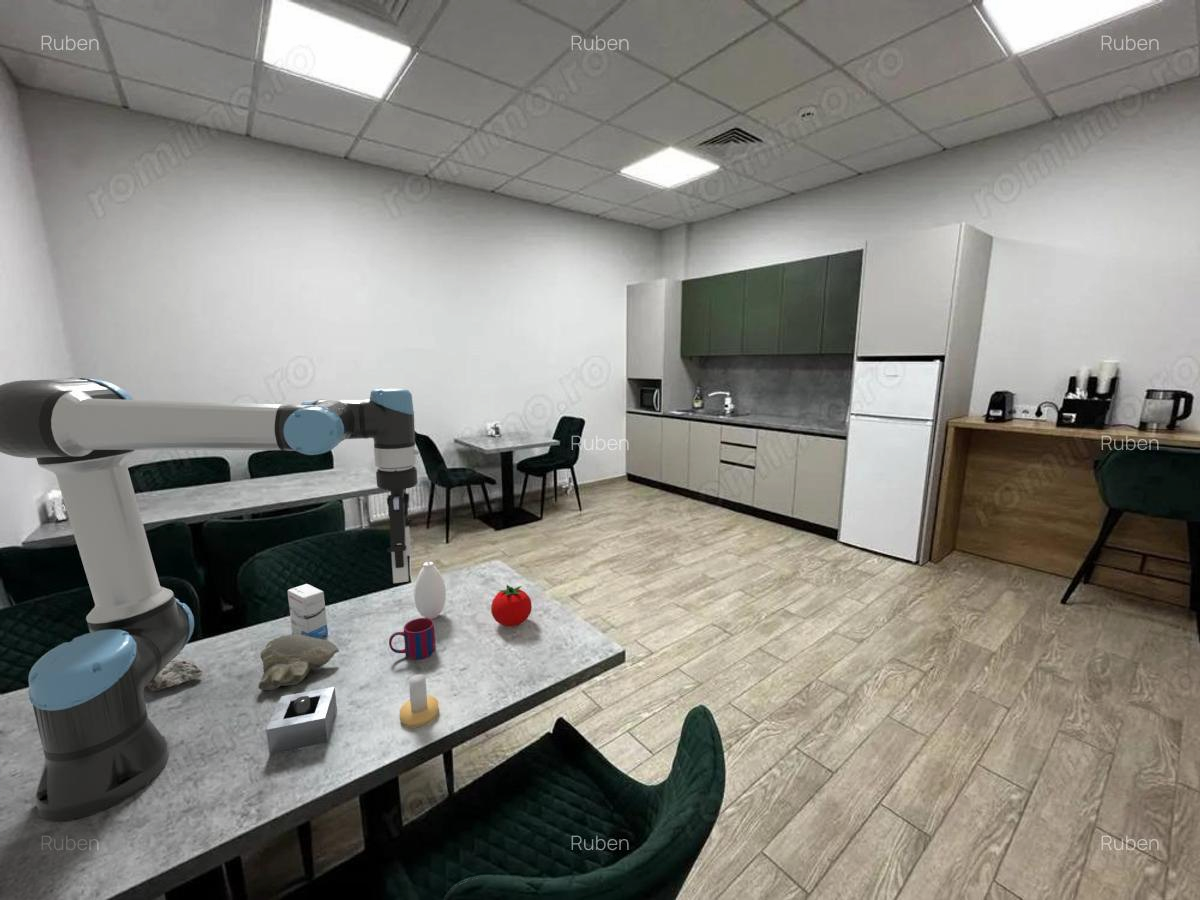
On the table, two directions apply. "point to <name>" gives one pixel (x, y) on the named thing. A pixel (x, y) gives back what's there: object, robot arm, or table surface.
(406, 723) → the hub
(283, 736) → the grey square bin
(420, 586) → the white vase
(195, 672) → the mineral rock
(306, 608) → the ink box
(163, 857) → the table surface
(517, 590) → the tomato
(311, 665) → the fossil
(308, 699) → the dark grey round-topped piece
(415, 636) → the mug
